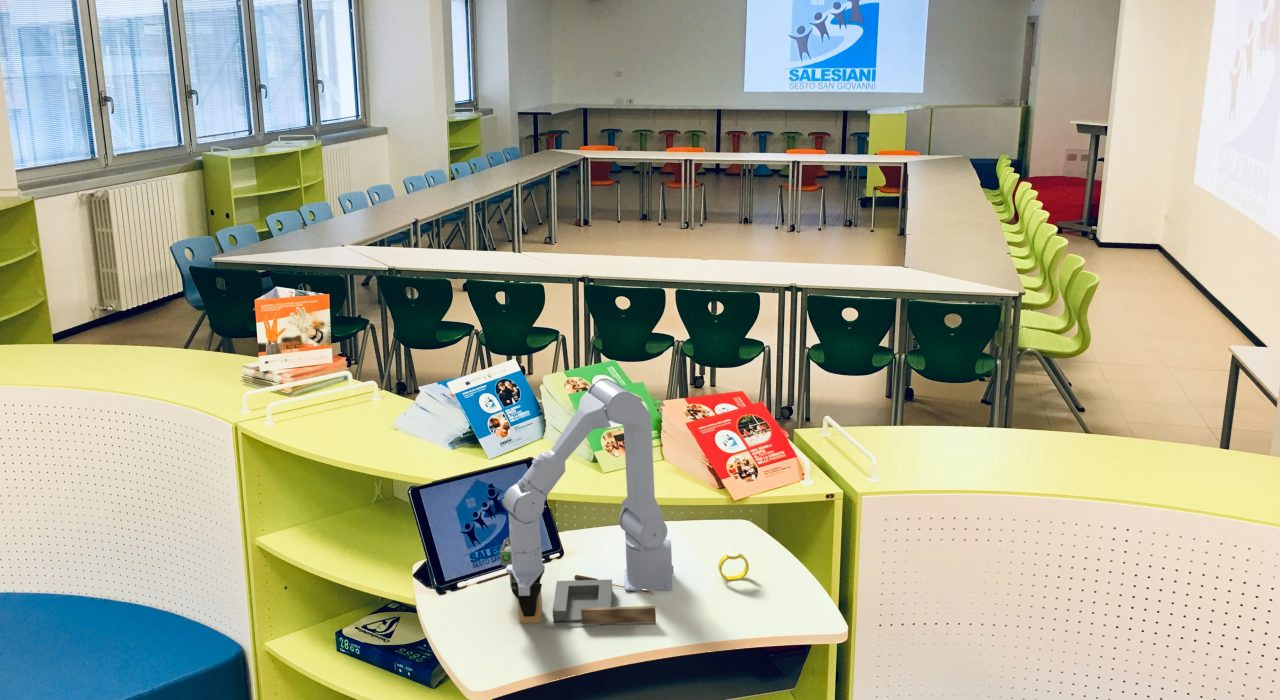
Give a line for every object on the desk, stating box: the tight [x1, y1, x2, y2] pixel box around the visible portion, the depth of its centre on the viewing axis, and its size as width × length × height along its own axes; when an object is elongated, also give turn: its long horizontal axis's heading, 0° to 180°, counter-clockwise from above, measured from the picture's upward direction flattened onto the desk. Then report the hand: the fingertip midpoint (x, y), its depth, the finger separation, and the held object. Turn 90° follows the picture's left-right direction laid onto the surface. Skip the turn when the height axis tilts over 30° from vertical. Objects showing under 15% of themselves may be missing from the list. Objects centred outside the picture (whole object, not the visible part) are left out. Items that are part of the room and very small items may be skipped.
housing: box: [544, 579, 657, 629], centre depth 212 cm, size 21×13×3 cm, turn 90°
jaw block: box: [517, 582, 543, 623], centre depth 209 cm, size 4×4×6 cm
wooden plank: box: [581, 605, 657, 624], centre depth 206 cm, size 14×1×3 cm, turn 90°
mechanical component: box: [499, 533, 517, 587], centre depth 220 cm, size 3×10×10 cm, turn 174°
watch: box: [717, 549, 750, 582], centre depth 220 cm, size 6×3×6 cm, turn 99°
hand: (530, 609), depth 210 cm, fingers closed on jaw block, 4 cm apart
